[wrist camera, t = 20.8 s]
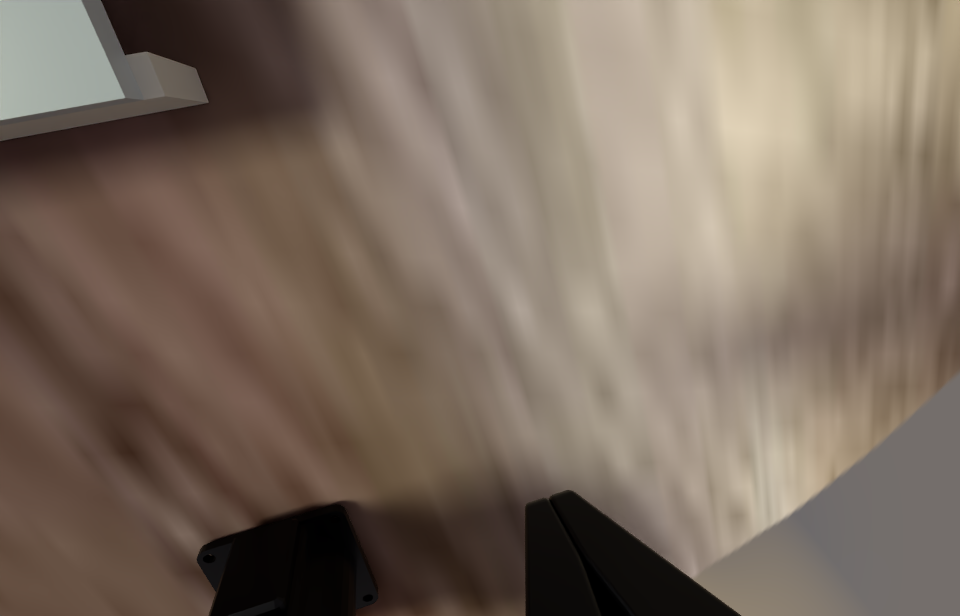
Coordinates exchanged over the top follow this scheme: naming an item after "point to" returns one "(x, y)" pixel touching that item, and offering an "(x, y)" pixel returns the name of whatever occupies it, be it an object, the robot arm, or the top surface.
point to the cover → (60, 60)
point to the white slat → (161, 92)
